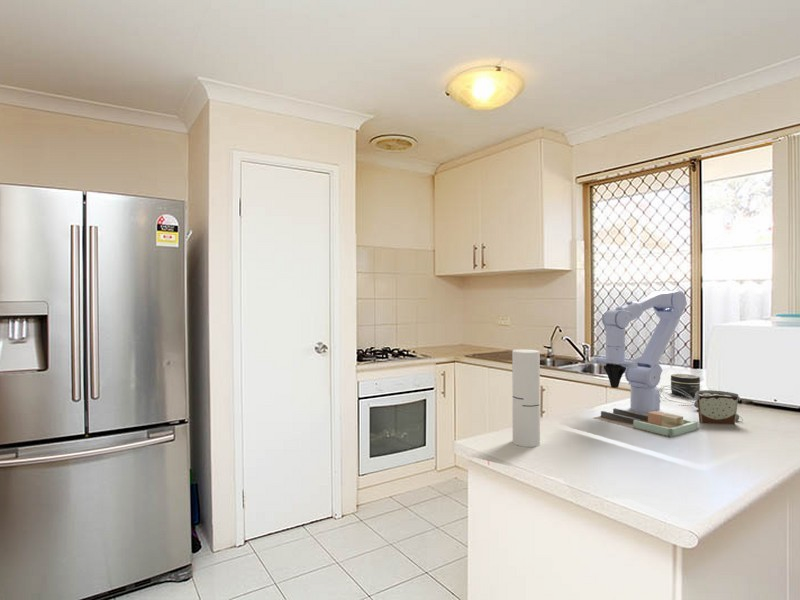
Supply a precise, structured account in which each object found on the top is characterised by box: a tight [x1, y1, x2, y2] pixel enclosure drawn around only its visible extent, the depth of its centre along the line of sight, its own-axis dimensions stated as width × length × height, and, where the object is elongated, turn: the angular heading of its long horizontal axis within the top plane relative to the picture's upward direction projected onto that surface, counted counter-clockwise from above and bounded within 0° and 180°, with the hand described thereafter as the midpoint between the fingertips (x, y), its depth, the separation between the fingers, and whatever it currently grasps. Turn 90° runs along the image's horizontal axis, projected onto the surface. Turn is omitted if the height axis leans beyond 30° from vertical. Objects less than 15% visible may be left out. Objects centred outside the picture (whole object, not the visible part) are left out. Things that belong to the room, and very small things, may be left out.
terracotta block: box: [647, 410, 670, 426], centre depth 137 cm, size 4×4×4 cm
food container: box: [693, 389, 741, 425], centre depth 143 cm, size 12×6×10 cm, turn 84°
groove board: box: [593, 408, 700, 439], centre depth 141 cm, size 16×24×2 cm, turn 31°
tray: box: [633, 418, 699, 438], centre depth 135 cm, size 14×11×2 cm
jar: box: [670, 373, 701, 398], centre depth 184 cm, size 10×10×8 cm
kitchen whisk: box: [658, 385, 744, 423], centre depth 161 cm, size 6×34×6 cm, turn 12°
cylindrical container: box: [511, 348, 541, 448], centre depth 126 cm, size 7×7×25 cm
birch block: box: [662, 413, 684, 428], centre depth 134 cm, size 4×4×4 cm
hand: (614, 387), depth 153 cm, fingers closed
